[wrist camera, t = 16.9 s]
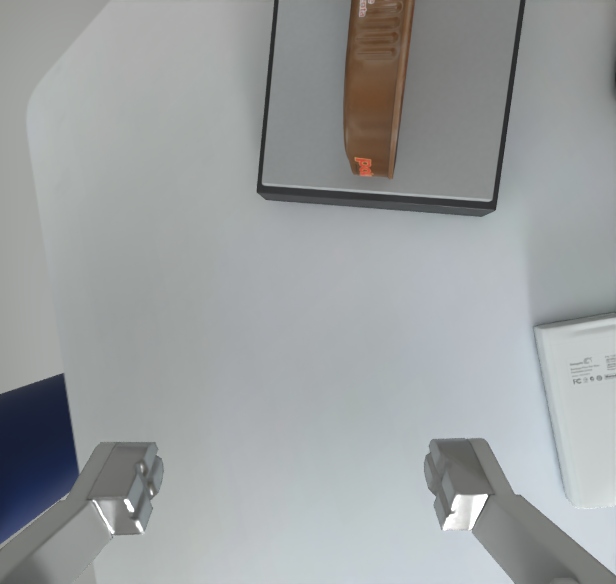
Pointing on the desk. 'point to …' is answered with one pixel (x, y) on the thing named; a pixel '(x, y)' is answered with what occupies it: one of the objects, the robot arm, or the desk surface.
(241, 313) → the desk surface
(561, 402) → the hard drive
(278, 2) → the scale
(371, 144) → the tin
